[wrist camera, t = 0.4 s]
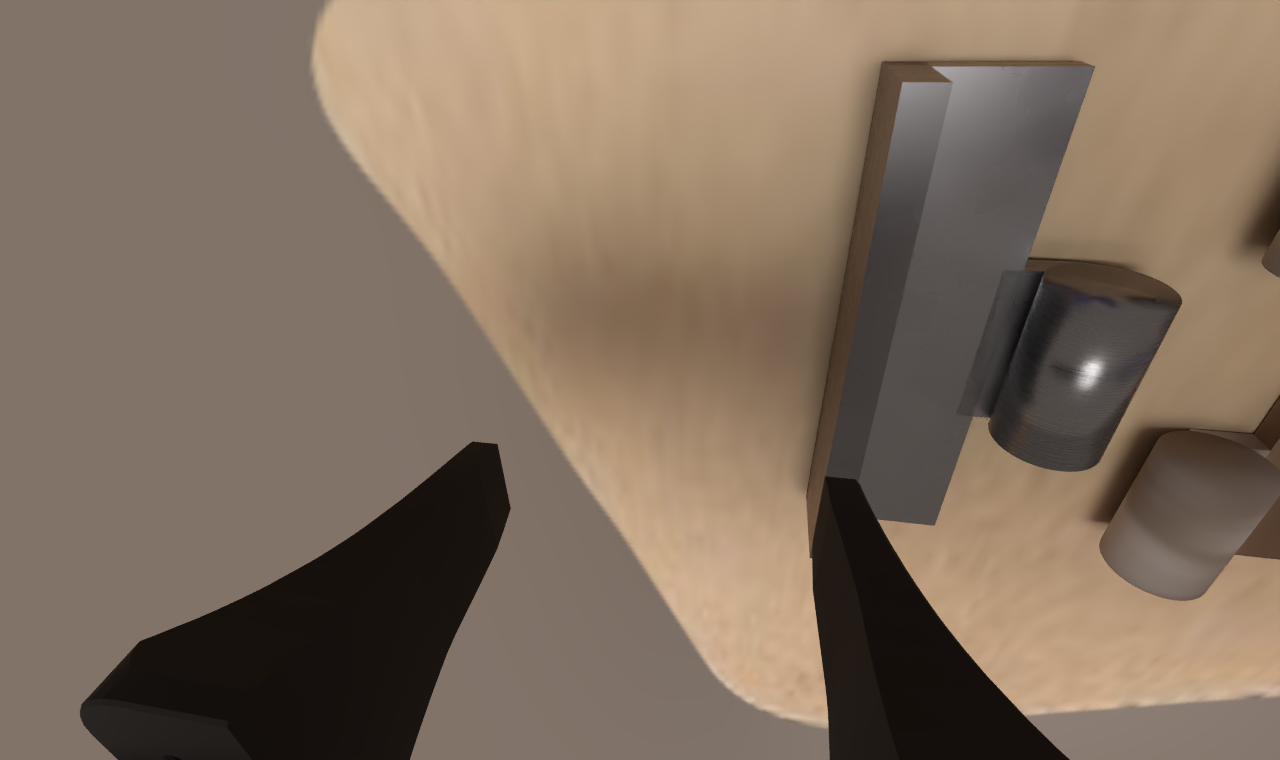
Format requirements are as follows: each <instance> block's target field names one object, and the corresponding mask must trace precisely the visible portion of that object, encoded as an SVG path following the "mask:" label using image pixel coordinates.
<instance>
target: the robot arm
mask: <svg viewBox="0 0 1280 760" xmlns="http://www.w3.org/2000/svg"><path fill="white" fill-rule="evenodd" d="M510 509H511V508H510V504H509V498H508V494H507V489H506V484H505V479H504V474H503V469H502V464H501V459H500V455H499V450H498V445H497V444H492V443H481V442H472V443H470V444H469V445H467V446H466V447H465V448H464V449H462V450H461V451H460V452H459V453H458V454H456V455H455V456H454V457H453V458H452V459H450V460H449V461H448V462H447V463H446V464H444V465H443V466H442V467H441V468H440V469H438V470H437V471H436V472H435V473H434V474H432V475H431V476H430V477H429V478H428V479H426V480H425V481H424V482H423V483H422V484H420V485H419V486H418V487H417V488H415V489H414V490H413V491H412V492H410V493H409V494H408V495H407V496H405V497H404V498H403V499H402V500H400V501H399V502H398V503H396V504H395V505H394V506H392V507H391V508H390V509H388V510H387V511H386V512H384V513H383V514H382V515H380V516H379V517H378V518H376V519H375V520H374V521H372V522H371V523H370V524H368V525H367V526H365V527H364V528H363V529H361V530H360V531H359V532H357V533H355V534H354V535H353V536H351V537H349V538H348V539H346V540H345V541H343V542H342V543H340V544H339V545H337V546H336V547H334V548H332V549H331V550H329V551H328V552H326V553H324V554H323V555H321V556H320V557H318V558H316V559H315V560H313V561H311V562H310V563H308V564H306V565H304V566H302V567H301V568H299V569H297V570H295V571H293V572H291V573H290V574H288V575H286V576H284V577H282V578H280V579H279V580H277V581H275V582H273V583H271V584H270V585H268V586H266V587H264V588H262V589H260V590H258V591H256V592H254V593H252V594H250V595H248V596H246V597H244V598H242V599H239V600H237V601H235V602H233V603H231V604H229V605H226V606H224V607H222V608H220V609H218V610H216V611H213V612H211V613H209V614H206V615H204V616H202V617H200V618H197V619H195V620H192V621H190V622H187V623H185V624H182V625H180V626H177V627H175V628H172V629H170V630H167V631H165V632H163V633H160V634H158V635H155V636H152V637H150V638H147V639H144V640H142V641H140V642H139V643H138V644H137V645H136V646H135V647H134V648H133V649H132V650H131V651H130V652H129V654H128V655H127V656H126V657H125V658H124V659H123V660H122V661H121V662H120V663H119V665H117V667H116V668H115V669H114V670H113V671H112V672H111V673H110V674H109V675H108V676H107V677H106V679H105V680H104V681H103V682H102V683H101V684H100V685H99V686H98V687H97V688H96V690H94V692H93V693H92V694H91V695H90V696H89V697H88V698H87V699H86V700H85V701H84V702H83V703H82V705H81V709H80V717H81V719H82V722H83V724H84V726H85V727H86V728H87V729H88V730H89V732H90V733H91V734H92V735H93V736H94V737H95V738H96V739H97V740H98V741H99V742H100V743H101V744H102V745H103V746H104V747H105V748H106V749H108V750H109V751H110V752H111V753H112V754H113V755H114V756H115V757H116V758H117V759H118V760H410V757H411V754H412V751H413V748H414V745H415V742H416V738H417V736H418V733H419V730H420V727H421V724H422V721H423V718H424V715H425V713H426V710H427V707H428V704H429V700H430V698H431V695H432V693H433V690H434V687H435V684H436V682H437V679H438V676H439V674H440V671H441V668H442V665H443V663H444V660H445V657H446V655H447V652H448V650H449V648H450V646H451V643H452V641H453V639H454V637H455V634H456V632H457V630H458V628H459V626H460V624H461V622H462V620H463V618H464V616H465V614H466V612H467V610H468V608H469V606H470V604H471V602H472V600H473V598H474V596H475V594H476V592H477V590H478V588H479V585H480V584H481V582H482V579H483V577H484V575H485V573H486V571H487V569H488V567H489V565H490V563H491V561H492V559H493V557H494V554H495V552H496V550H497V548H498V545H499V542H500V539H501V536H502V533H503V531H504V527H505V524H506V521H507V518H508V515H509V512H510ZM812 565H813V593H814V602H815V609H816V617H817V625H818V633H819V640H820V648H821V656H822V663H823V671H824V679H825V686H826V695H827V706H828V721H829V749H830V760H1069V759H1068V758H1067V757H1066V756H1065V755H1064V754H1063V753H1062V752H1061V751H1060V750H1058V749H1057V748H1056V747H1055V746H1054V745H1053V744H1052V743H1051V742H1050V741H1049V740H1048V739H1047V738H1046V737H1045V736H1044V735H1043V734H1042V733H1041V732H1040V731H1039V730H1038V729H1037V728H1036V727H1035V726H1034V725H1033V724H1032V723H1031V722H1030V721H1029V720H1028V719H1027V718H1026V717H1025V716H1024V715H1023V714H1022V713H1021V712H1020V711H1019V710H1018V708H1017V707H1016V706H1015V705H1014V704H1013V703H1012V702H1011V701H1010V700H1009V699H1008V698H1007V697H1006V696H1005V695H1004V694H1003V692H1002V691H1001V690H1000V689H999V688H998V687H997V686H996V685H995V684H994V683H993V682H992V681H991V680H990V679H989V678H988V677H987V675H986V674H985V673H984V672H983V671H982V670H981V668H980V667H979V666H978V665H977V664H976V663H975V661H974V660H973V659H972V658H971V657H970V655H969V654H968V653H967V652H966V651H965V650H964V648H963V647H962V646H961V645H960V643H959V642H958V641H957V640H956V638H955V637H954V636H953V635H952V633H951V632H950V631H949V630H948V628H947V627H946V626H945V624H944V623H943V622H942V620H941V619H940V618H939V616H938V615H937V614H936V612H935V611H934V609H933V608H932V607H931V605H930V604H929V603H928V601H927V600H926V598H925V597H924V595H923V594H922V592H921V591H920V589H919V588H918V587H917V585H916V584H915V582H914V581H913V579H912V578H911V576H910V574H909V573H908V571H907V570H906V568H905V567H904V565H903V563H902V562H901V560H900V558H899V557H898V555H897V553H896V552H895V550H894V549H893V547H892V545H891V544H890V542H889V540H888V538H887V537H886V535H885V533H884V531H883V529H882V528H881V526H880V524H879V522H878V520H877V518H876V516H875V515H874V513H873V511H872V509H871V507H870V505H869V503H868V501H867V499H866V496H865V494H864V492H863V490H862V488H861V485H860V484H859V483H858V481H857V480H856V479H848V478H838V477H828V476H825V478H824V484H823V489H822V494H821V500H820V505H819V510H818V516H817V521H816V526H815V532H814V537H813V542H812Z"/></svg>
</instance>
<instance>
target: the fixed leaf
mask: <svg viewBox="0 0 1280 760" xmlns="http://www.w3.org/2000/svg"><path fill="white" fill-rule="evenodd" d="M1262 265H1263V266H1264V267H1265V268H1266V269H1267V270H1268V271H1269V272H1271V273H1272V274H1274V275H1276V276H1277V277H1280V229H1279V231H1278V232H1277V234H1276V236H1275V238H1274V239H1273V241H1272V243H1271V244H1270V246H1269V248H1268V250H1267V251H1266V253H1265V255H1264V257H1263V258H1262ZM1099 546H1100V551H1101V554H1102V556H1103V558H1104V560H1105V561H1106V563H1107V564H1108V565H1109V566H1110V567H1111V568H1112V569H1113V571H1115V572H1116V573H1117V574H1118V575H1119V576H1120V577H1122V578H1123V579H1124V580H1126V581H1127V582H1129V583H1130V584H1132V585H1134V586H1135V587H1137V588H1139V589H1141V590H1143V591H1145V592H1148V593H1150V594H1153V595H1156V596H1159V597H1162V598H1166V599H1171V600H1180V601H1186V600H1194V599H1197V598H1199V597H1201V596H1202V595H1203V594H1205V592H1206V591H1207V590H1208V588H1209V587H1210V586H1211V585H1212V583H1213V582H1214V581H1215V579H1216V578H1217V577H1218V576H1219V574H1220V573H1221V572H1222V570H1223V569H1224V568H1225V566H1226V565H1227V564H1228V563H1229V561H1230V560H1231V559H1232V557H1233V556H1234V555H1243V556H1252V557H1261V558H1270V559H1280V397H1279V399H1278V400H1277V402H1276V403H1275V404H1274V406H1273V407H1272V409H1271V410H1270V412H1269V413H1268V415H1267V416H1266V418H1265V419H1264V421H1263V422H1262V423H1261V425H1260V426H1259V428H1258V429H1257V431H1256V432H1255V434H1246V433H1234V432H1222V431H1210V430H1198V429H1189V430H1188V431H1185V430H1183V431H1172V432H1168V433H1166V434H1163V435H1162V436H1160V438H1159V439H1158V440H1157V442H1156V444H1155V446H1154V447H1153V449H1152V451H1151V453H1150V454H1149V456H1148V458H1147V459H1146V461H1145V463H1144V465H1143V466H1142V468H1141V470H1140V472H1139V473H1138V475H1137V477H1136V479H1135V480H1134V482H1133V484H1132V486H1131V487H1130V489H1129V491H1128V492H1127V494H1126V496H1125V498H1124V499H1123V501H1122V503H1121V505H1120V506H1119V508H1118V510H1117V512H1116V513H1115V515H1114V517H1113V518H1112V520H1111V522H1110V524H1109V525H1108V527H1107V529H1106V531H1105V532H1104V534H1103V536H1102V538H1101V540H1100V544H1099Z"/></svg>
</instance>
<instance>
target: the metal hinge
mask: <svg viewBox="0 0 1280 760" xmlns="http://www.w3.org/2000/svg"><path fill="white" fill-rule="evenodd" d="M1094 68H1095V66H1092V65H1089V64H1087V63H1084V62H882V67H881V73H880V79H879V85H878V90H877V96H876V102H875V107H874V113H873V119H872V124H871V130H870V136H869V142H868V147H867V153H866V159H865V164H864V170H863V176H862V182H861V187H860V193H859V199H858V204H857V210H856V216H855V221H854V227H853V233H852V239H851V244H850V250H849V256H848V261H847V267H846V273H845V279H844V284H843V290H842V296H841V301H840V307H839V313H838V318H837V324H836V330H835V336H834V341H833V347H832V353H831V358H830V364H829V370H828V376H827V381H826V387H825V393H824V398H823V404H822V410H821V415H820V421H819V427H818V433H817V438H816V444H815V450H814V455H813V461H812V467H811V473H810V478H809V484H808V490H807V495H806V499H807V517H808V535H809V552H810V558H812V542H813V537H814V532H815V526H816V521H817V516H818V510H819V505H820V500H821V494H822V489H823V484H824V478H825V476H828V477H838V478H848V479H856V480H857V481H858V483H859V484H860V485H861V488H862V490H863V492H864V494H865V496H866V499H867V501H868V503H869V505H870V507H871V509H872V511H873V513H874V515H875V516H876V518H877V519H880V520H889V521H898V522H907V523H916V524H925V525H934V526H935V523H936V520H937V517H938V514H939V511H940V509H941V506H942V503H943V500H944V497H945V494H946V491H947V489H948V486H949V483H950V480H951V477H952V474H953V471H954V469H955V466H956V463H957V460H958V457H959V454H960V451H961V449H962V446H963V443H964V440H965V437H966V434H967V431H968V429H969V426H970V423H971V420H972V417H973V416H975V417H987V418H990V420H989V424H988V428H989V432H990V434H991V436H992V437H993V439H994V440H995V441H996V442H997V443H998V444H999V445H1000V446H1001V447H1002V448H1003V449H1004V450H1006V451H1007V452H1009V453H1010V454H1012V455H1013V456H1015V457H1017V458H1019V459H1021V460H1023V461H1025V462H1028V463H1030V464H1033V465H1036V466H1039V467H1042V468H1046V469H1051V470H1057V471H1067V472H1073V471H1083V470H1087V469H1090V468H1092V467H1094V466H1095V465H1097V464H1098V463H1099V462H1100V460H1101V458H1102V456H1103V454H1104V452H1105V450H1106V448H1107V446H1108V444H1109V442H1110V440H1111V439H1112V437H1113V435H1114V433H1115V431H1116V429H1117V427H1118V425H1119V423H1120V421H1121V419H1122V417H1123V416H1124V414H1125V412H1126V410H1127V408H1128V406H1129V404H1130V402H1131V400H1132V398H1133V396H1134V394H1135V392H1136V391H1137V389H1138V387H1139V385H1140V383H1141V381H1142V379H1143V377H1144V375H1145V373H1146V371H1147V369H1148V368H1149V366H1150V364H1151V362H1152V360H1153V358H1154V356H1155V354H1156V352H1157V350H1158V348H1159V346H1160V345H1161V343H1162V341H1163V339H1164V337H1165V335H1166V333H1167V331H1168V329H1169V327H1170V325H1171V323H1172V322H1173V320H1174V318H1175V316H1176V314H1177V312H1178V310H1179V308H1180V306H1181V304H1182V299H1181V297H1180V295H1179V294H1178V293H1177V292H1176V291H1175V290H1174V289H1173V288H1171V287H1170V286H1168V285H1166V284H1165V283H1163V282H1161V281H1159V280H1157V279H1154V278H1152V277H1149V276H1147V275H1144V274H1141V273H1138V272H1134V271H1131V270H1127V269H1122V268H1118V267H1113V266H1106V265H1099V264H1087V263H1085V262H1075V261H1052V260H1030V259H1028V257H1029V254H1030V251H1031V248H1032V245H1033V243H1034V240H1035V237H1036V234H1037V231H1038V228H1039V225H1040V223H1041V220H1042V217H1043V214H1044V211H1045V208H1046V205H1047V203H1048V200H1049V197H1050V194H1051V191H1052V188H1053V185H1054V182H1055V180H1056V177H1057V174H1058V171H1059V168H1060V165H1061V162H1062V160H1063V157H1064V154H1065V151H1066V148H1067V145H1068V142H1069V140H1070V137H1071V134H1072V131H1073V128H1074V125H1075V122H1076V120H1077V117H1078V114H1079V111H1080V108H1081V105H1082V102H1083V100H1084V97H1085V94H1086V91H1087V88H1088V85H1089V82H1090V80H1091V77H1092V74H1093V71H1094Z"/></svg>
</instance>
